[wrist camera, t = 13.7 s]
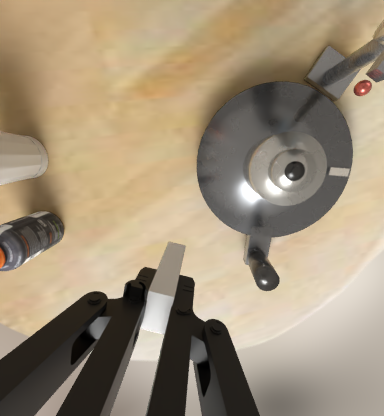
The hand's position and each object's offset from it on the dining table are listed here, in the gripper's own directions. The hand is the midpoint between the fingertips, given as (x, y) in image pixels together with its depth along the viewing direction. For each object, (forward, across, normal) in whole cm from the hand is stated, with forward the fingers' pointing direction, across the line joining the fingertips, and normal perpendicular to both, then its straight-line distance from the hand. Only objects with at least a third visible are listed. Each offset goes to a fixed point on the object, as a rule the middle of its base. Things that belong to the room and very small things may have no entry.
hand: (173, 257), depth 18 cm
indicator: (+16, +13, +20) cm, 29 cm away
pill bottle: (+15, -22, -9) cm, 28 cm away
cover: (+13, +10, +9) cm, 18 cm away
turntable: (+14, +10, +7) cm, 19 cm away
